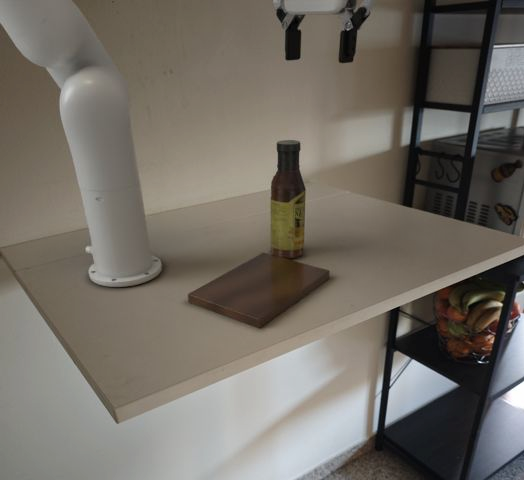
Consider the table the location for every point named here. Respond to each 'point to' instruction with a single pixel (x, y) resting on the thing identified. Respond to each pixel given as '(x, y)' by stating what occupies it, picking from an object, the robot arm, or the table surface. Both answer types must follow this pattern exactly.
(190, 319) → the table surface
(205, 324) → the table surface
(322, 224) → the table surface
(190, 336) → the table surface
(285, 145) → the sauce bottle
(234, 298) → the serving board
